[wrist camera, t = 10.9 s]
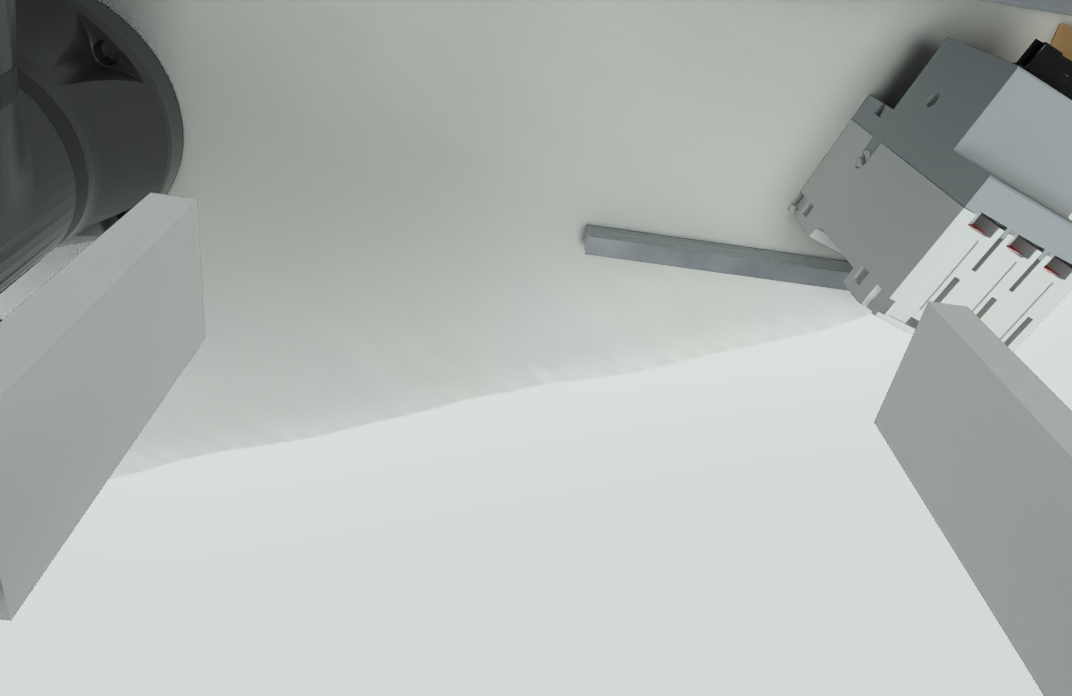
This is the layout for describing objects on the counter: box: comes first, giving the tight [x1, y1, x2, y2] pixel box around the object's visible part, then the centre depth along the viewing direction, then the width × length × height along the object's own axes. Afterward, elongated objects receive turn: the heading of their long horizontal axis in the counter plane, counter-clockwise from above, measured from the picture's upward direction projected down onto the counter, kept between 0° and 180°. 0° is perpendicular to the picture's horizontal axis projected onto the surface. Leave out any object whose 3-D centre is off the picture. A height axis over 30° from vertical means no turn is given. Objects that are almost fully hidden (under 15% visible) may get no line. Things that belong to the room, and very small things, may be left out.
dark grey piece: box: [583, 0, 1072, 290], centre depth 42 cm, size 25×21×18 cm
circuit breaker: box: [788, 37, 1072, 352], centre depth 44 cm, size 8×14×15 cm, turn 153°
